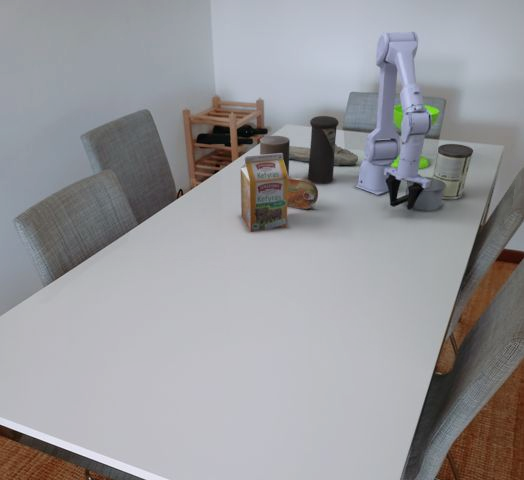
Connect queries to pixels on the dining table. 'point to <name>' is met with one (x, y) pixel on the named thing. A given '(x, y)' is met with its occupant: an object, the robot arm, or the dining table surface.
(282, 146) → the pillar candle
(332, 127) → the container
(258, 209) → the milk carton
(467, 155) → the coffee can
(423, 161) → the wineglass
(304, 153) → the elongated rock
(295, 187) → the tin
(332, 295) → the dining table surface
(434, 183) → the saucepan
